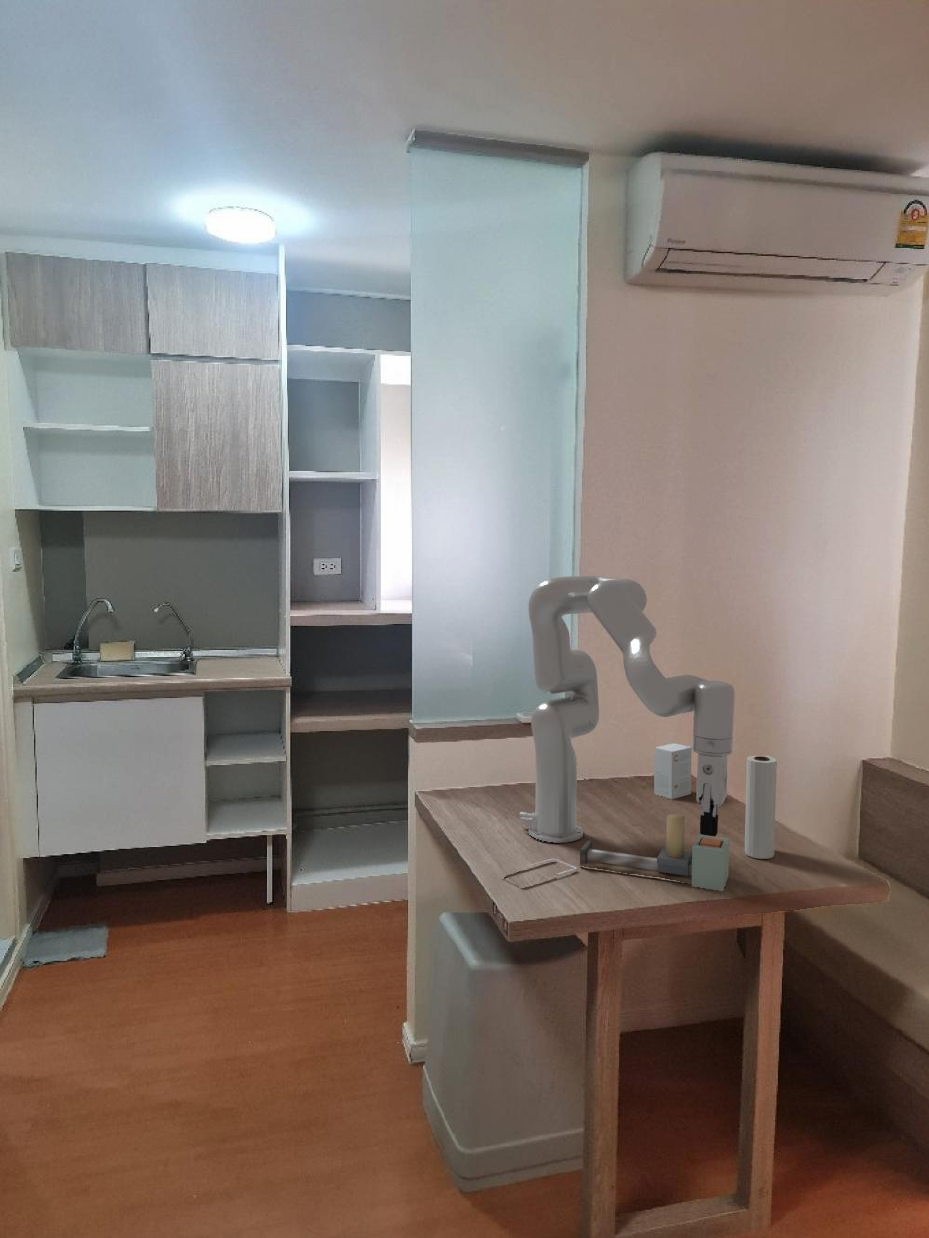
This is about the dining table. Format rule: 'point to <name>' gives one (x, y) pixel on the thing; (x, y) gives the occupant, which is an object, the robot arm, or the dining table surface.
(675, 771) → the small box
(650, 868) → the rail base
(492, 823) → the dining table surface
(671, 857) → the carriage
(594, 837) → the dining table surface
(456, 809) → the dining table surface
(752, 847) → the paper towel roll
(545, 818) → the robot arm
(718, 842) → the button
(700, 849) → the green button housing
